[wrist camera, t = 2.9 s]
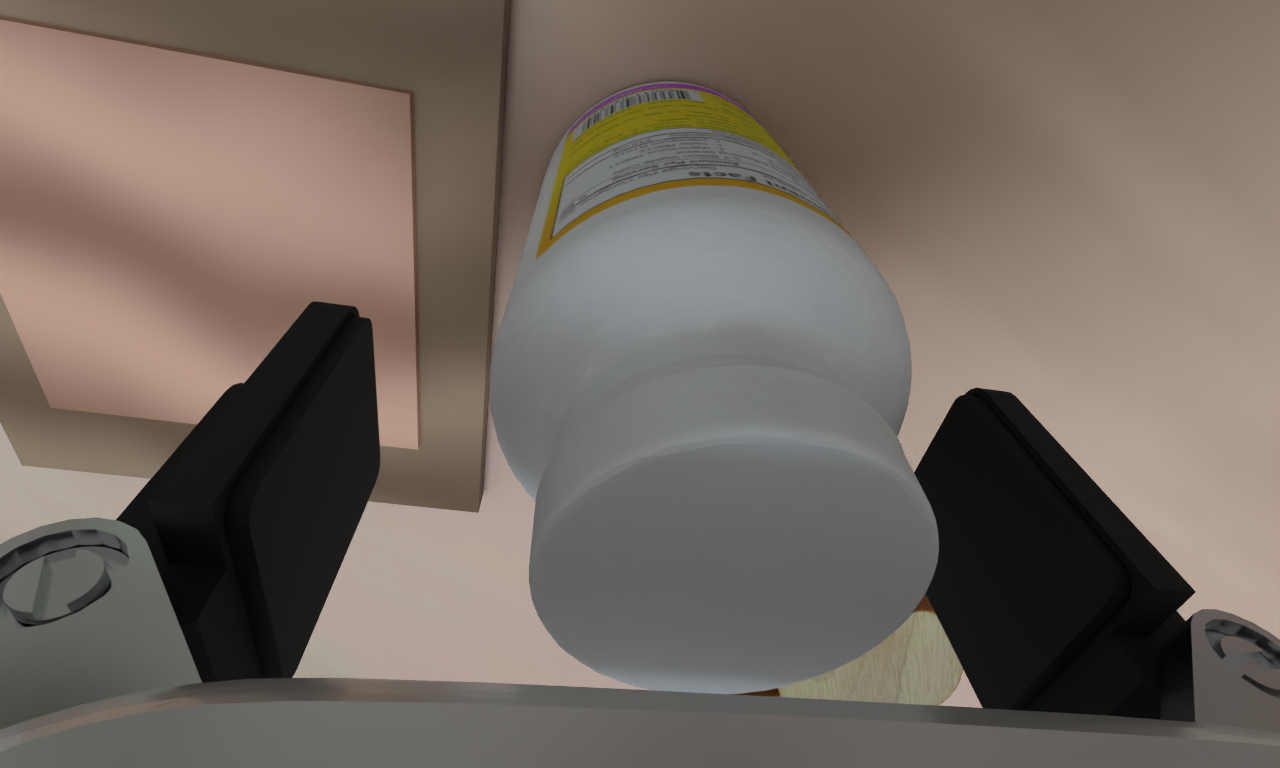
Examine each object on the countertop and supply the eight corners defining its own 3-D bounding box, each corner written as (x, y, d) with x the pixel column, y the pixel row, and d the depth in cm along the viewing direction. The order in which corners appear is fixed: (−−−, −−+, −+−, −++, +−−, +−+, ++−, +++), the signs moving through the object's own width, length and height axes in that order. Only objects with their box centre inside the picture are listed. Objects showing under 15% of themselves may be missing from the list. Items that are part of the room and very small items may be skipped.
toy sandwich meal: (604, 517, 25) (602, 622, 22) (949, 472, 24) (1012, 573, 21) (651, 684, 33) (655, 786, 29) (919, 654, 32) (961, 755, 28)
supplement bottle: (694, 344, 20) (773, 776, 10) (504, 243, 18) (348, 660, 8) (833, 162, 17) (1171, 519, 7) (623, 14, 15) (634, 199, 5)
